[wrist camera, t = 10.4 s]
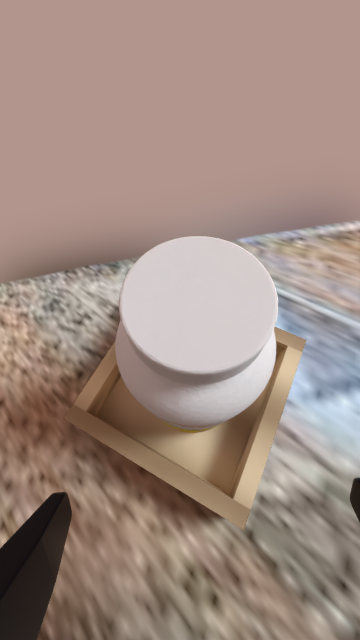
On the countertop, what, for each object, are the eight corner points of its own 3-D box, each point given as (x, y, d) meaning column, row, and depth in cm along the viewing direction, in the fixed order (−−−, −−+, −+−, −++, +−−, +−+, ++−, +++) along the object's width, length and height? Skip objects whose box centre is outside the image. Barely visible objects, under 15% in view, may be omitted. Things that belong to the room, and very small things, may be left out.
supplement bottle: (163, 333, 21) (135, 195, 9) (244, 356, 20) (324, 233, 8) (132, 417, 18) (39, 368, 7) (224, 448, 17) (304, 455, 6)
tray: (234, 515, 16) (243, 530, 14) (80, 422, 19) (63, 418, 16) (290, 353, 21) (306, 340, 18) (160, 296, 23) (157, 276, 21)
